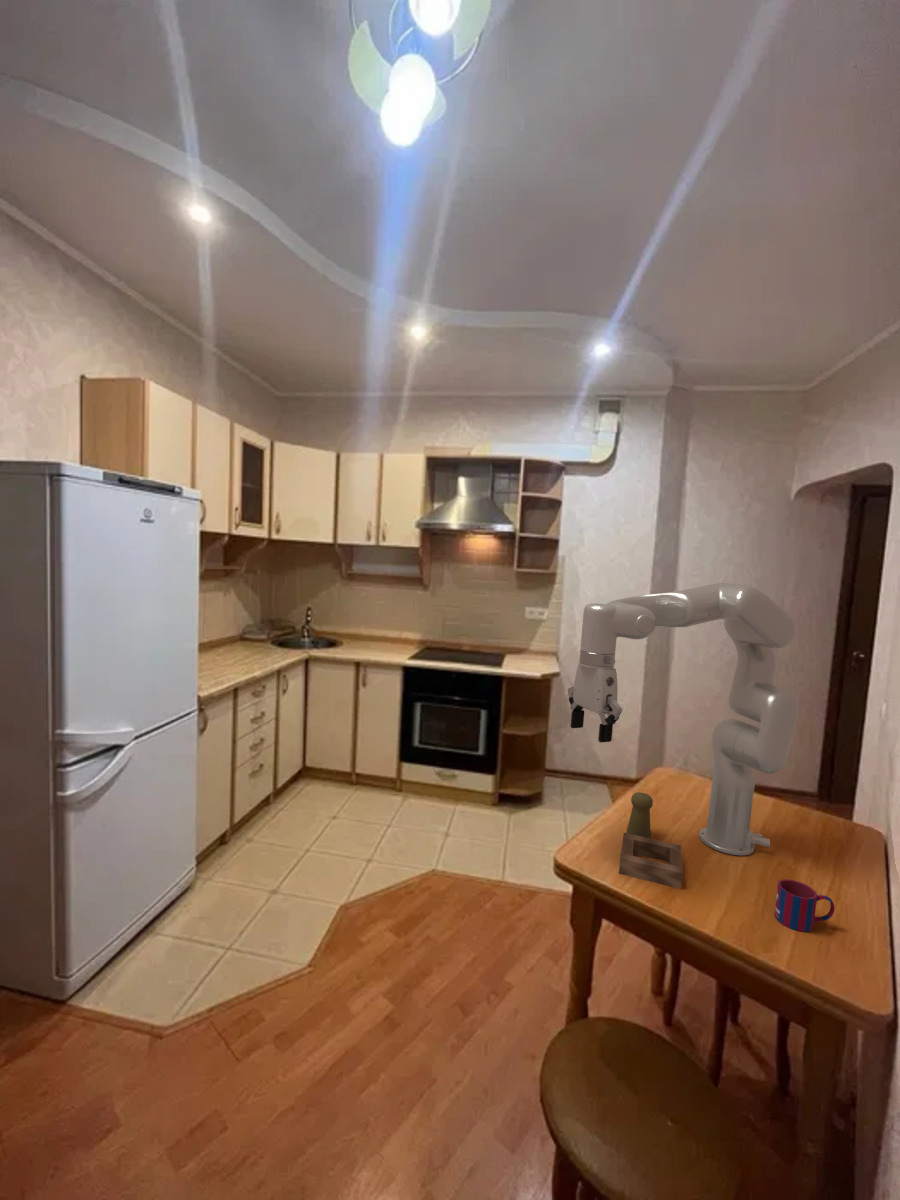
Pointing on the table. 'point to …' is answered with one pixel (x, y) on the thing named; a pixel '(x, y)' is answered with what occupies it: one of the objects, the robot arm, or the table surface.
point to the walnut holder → (648, 868)
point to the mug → (798, 905)
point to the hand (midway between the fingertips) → (590, 734)
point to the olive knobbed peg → (640, 815)
